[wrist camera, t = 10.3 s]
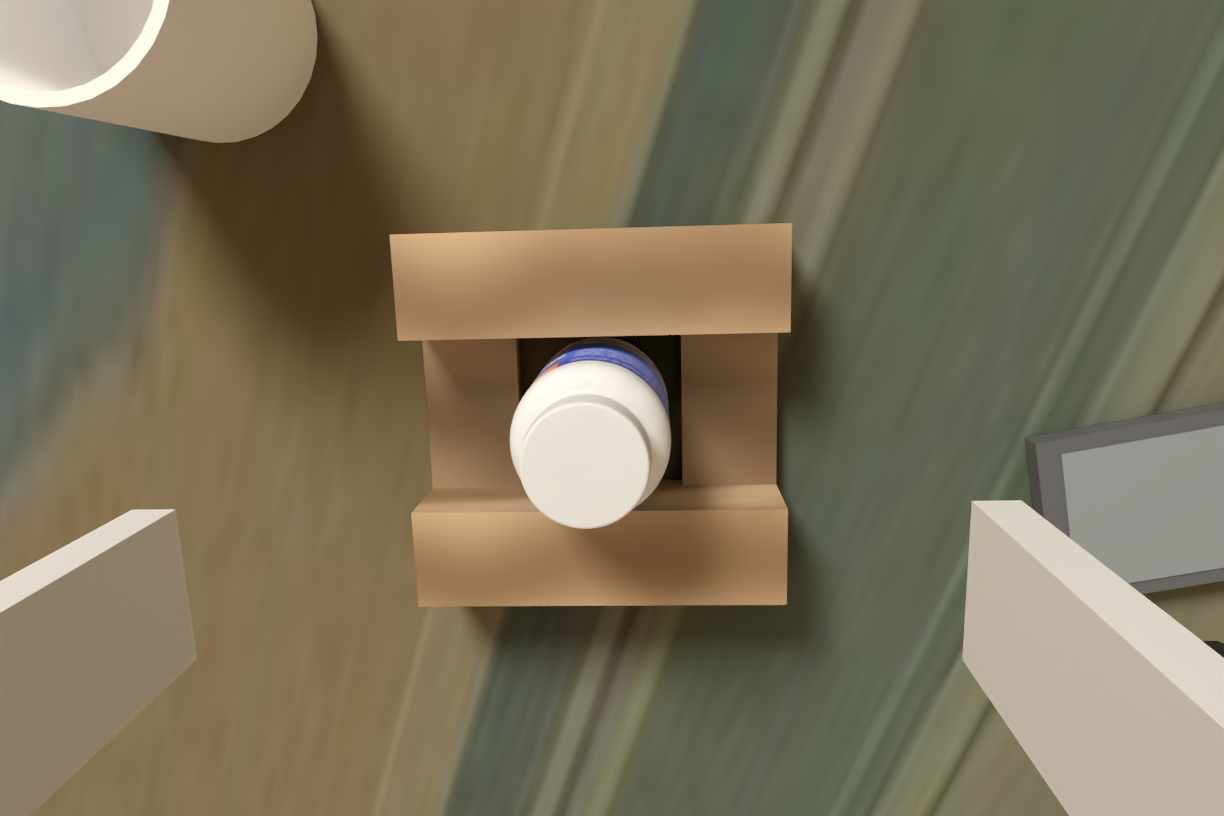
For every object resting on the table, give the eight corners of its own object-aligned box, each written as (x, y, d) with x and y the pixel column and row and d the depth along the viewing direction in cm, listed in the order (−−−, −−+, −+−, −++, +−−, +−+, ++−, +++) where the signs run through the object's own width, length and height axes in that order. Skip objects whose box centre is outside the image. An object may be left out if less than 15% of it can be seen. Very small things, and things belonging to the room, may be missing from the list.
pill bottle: (551, 321, 35) (510, 356, 25) (682, 351, 35) (692, 398, 25) (524, 449, 36) (476, 529, 26) (651, 478, 36) (649, 568, 26)
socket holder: (420, 233, 34) (389, 234, 30) (776, 224, 33) (792, 223, 29) (443, 566, 37) (418, 606, 33) (772, 564, 36) (786, 604, 32)
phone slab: (1024, 437, 35) (1036, 444, 34) (1366, 376, 33) (1389, 381, 32) (1043, 598, 36) (1054, 609, 35) (1372, 544, 35) (1395, 554, 34)
